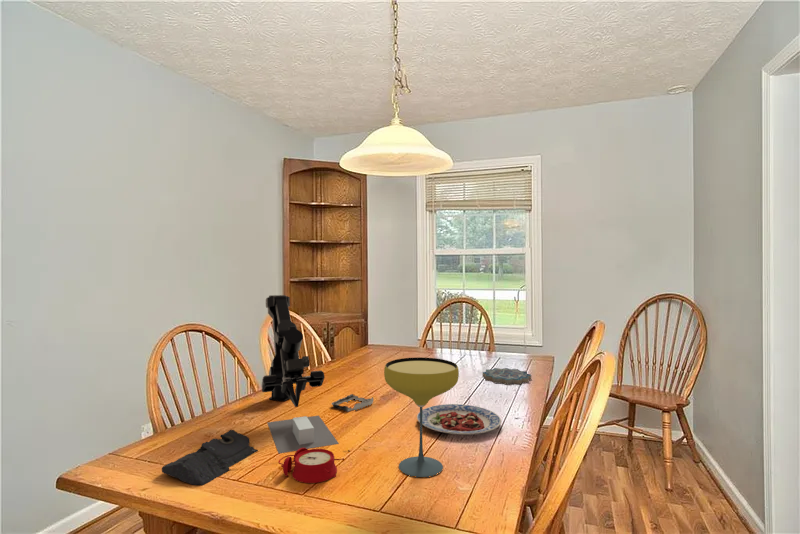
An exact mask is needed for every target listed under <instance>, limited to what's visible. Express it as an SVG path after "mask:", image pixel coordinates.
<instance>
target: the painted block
mask: <svg viewBox="0 0 800 534" xmlns="http://www.w3.org/2000/svg"><path fill="white" fill-rule="evenodd" d="M307 417H308V416H307V415H305V416H296V417H293V418H292V419H293V433H294V435H295V437H296V439H297V441H298V443H299V445H301V444H307V443H313V442H314V427H313V426H312V424H311V422H310V421H309V419H308V418H307Z"/></svg>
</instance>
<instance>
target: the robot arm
mask: <svg viewBox="0 0 800 534" xmlns="http://www.w3.org/2000/svg"><path fill="white" fill-rule="evenodd" d="M265 307H266V308H267V314H268V315H269V316H270V318H272V331H273V344H274V357H273V359H272V362H271V364H270V366H269V371H268V375H263V377H262V381H261V392H262V393H271V396H270V397H269V398H268V399H269V401H270V400H271V401H281V402H286V401H287V400H290V401H291V403H292V404H293V406H294V408H297V407H298V408H299V404H300V397H301V393H302V391H305V390H306V386H307V383H308V385H309V387H311V388H317V387H322V386H323V384H324V380H325V378H326V377H325V372H324V371H323V370H313V371H312V370H311V371H310V374H309V375H304V373H305V372H304V370H305V368H309V367H310V365H311V364H310V357H309V355H304V356H302V357H301V358H300V354H299V351H300V349H301V346H302V342H303V340H304V339H303V338H304V334H303V332H302V331H300V330H299V329H298V327H297V325H296V323H294V322H293V321H292V317H291V315H290V308H289V307H291V297H290V296H288V295H286V294H281V295H280V294H274V295H268V297H266V299H265ZM303 375H304V376H303ZM294 385H296V386H295V387H294Z"/></svg>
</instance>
